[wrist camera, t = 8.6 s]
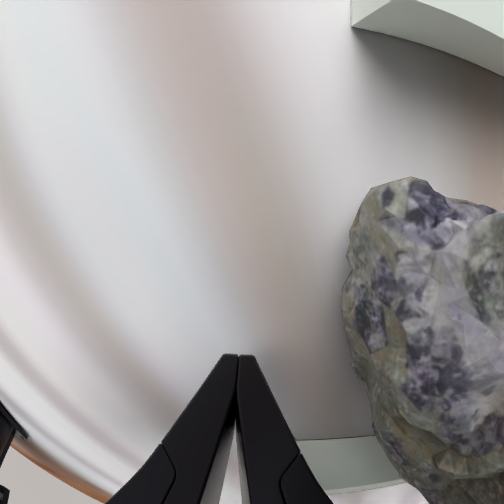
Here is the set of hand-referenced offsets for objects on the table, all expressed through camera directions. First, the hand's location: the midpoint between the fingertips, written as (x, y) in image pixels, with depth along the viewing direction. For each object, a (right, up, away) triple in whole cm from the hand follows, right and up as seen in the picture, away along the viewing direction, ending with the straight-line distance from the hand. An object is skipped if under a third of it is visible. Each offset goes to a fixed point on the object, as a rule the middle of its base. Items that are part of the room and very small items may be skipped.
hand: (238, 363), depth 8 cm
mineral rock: (+8, 0, +2) cm, 8 cm away
